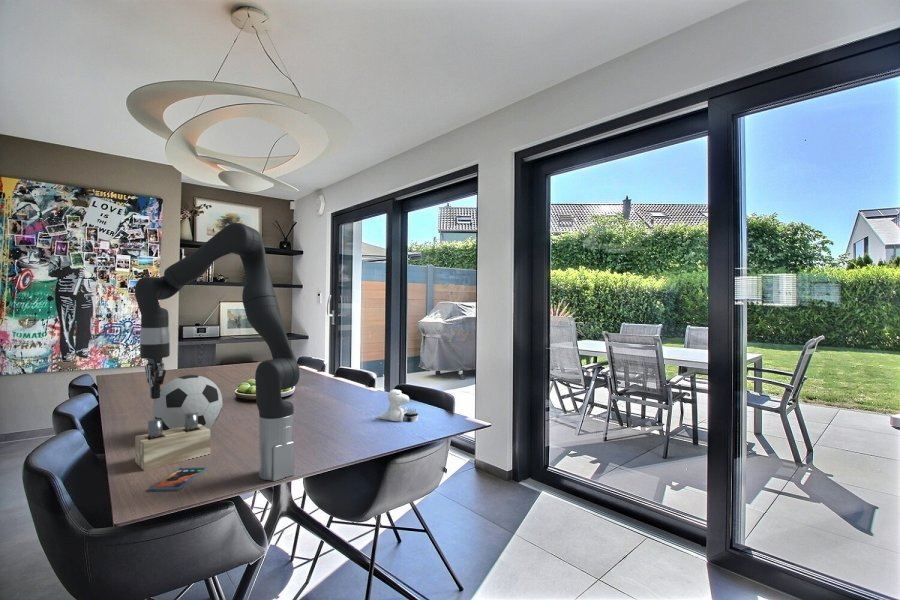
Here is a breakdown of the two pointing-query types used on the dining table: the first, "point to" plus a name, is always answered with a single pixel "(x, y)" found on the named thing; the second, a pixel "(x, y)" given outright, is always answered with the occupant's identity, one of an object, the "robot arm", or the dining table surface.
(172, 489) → the smartphone
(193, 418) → the inner peg
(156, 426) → the outer peg
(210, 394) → the soccer ball
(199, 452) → the birch block
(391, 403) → the figurine
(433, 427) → the dining table surface
